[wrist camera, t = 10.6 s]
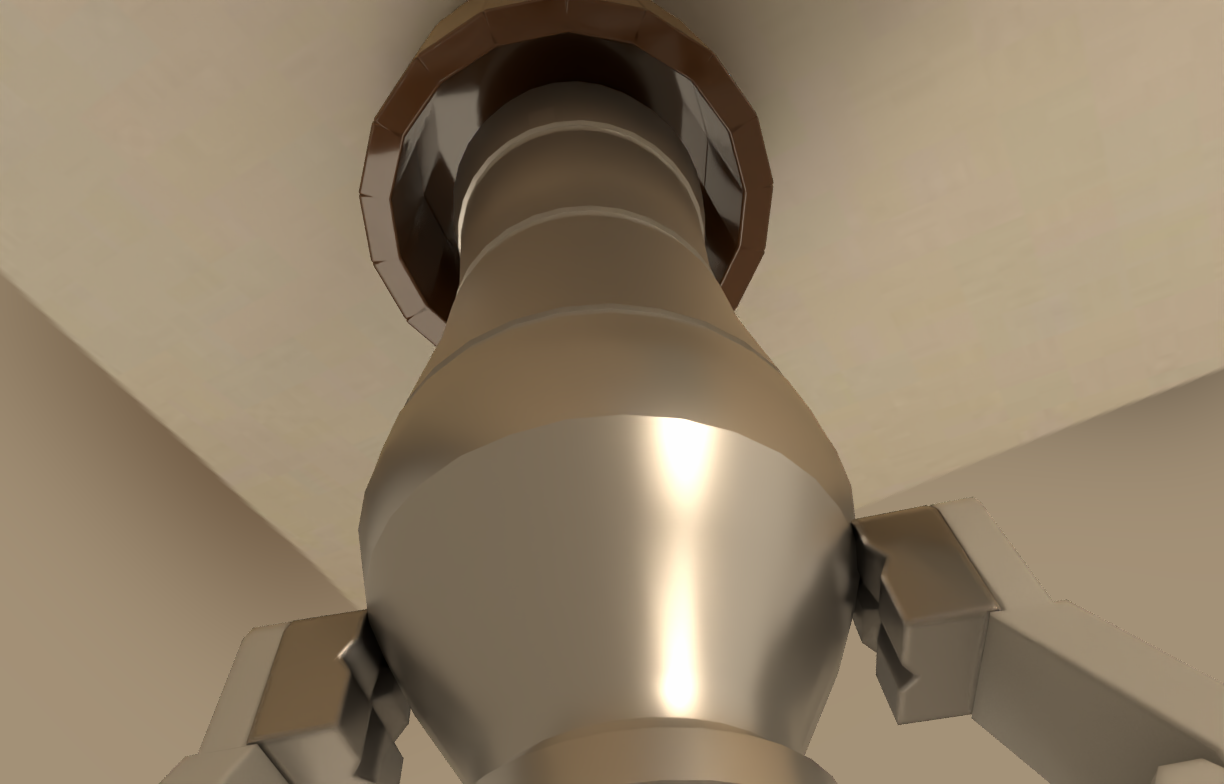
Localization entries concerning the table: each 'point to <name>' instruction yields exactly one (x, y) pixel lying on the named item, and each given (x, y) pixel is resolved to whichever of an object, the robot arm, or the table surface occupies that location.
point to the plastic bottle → (604, 483)
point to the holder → (529, 58)
